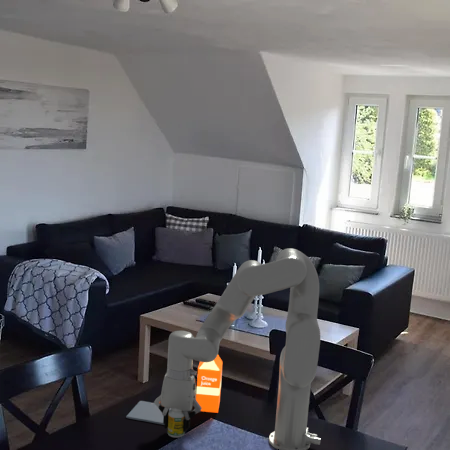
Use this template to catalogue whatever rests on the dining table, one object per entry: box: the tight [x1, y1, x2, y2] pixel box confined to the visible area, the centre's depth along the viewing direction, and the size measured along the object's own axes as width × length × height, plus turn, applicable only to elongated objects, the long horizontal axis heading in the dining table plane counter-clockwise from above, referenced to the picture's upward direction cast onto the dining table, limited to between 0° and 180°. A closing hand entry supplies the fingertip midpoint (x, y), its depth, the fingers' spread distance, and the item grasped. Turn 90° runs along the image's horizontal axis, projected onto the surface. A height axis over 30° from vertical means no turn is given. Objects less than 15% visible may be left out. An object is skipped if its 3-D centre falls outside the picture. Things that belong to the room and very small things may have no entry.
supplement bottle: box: [167, 408, 186, 439], centre depth 194 cm, size 5×5×10 cm
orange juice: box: [196, 354, 223, 414], centre depth 213 cm, size 8×9×20 cm
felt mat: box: [125, 400, 171, 426], centre depth 206 cm, size 16×12×1 cm
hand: (176, 427), depth 194 cm, fingers closed on supplement bottle, 5 cm apart
